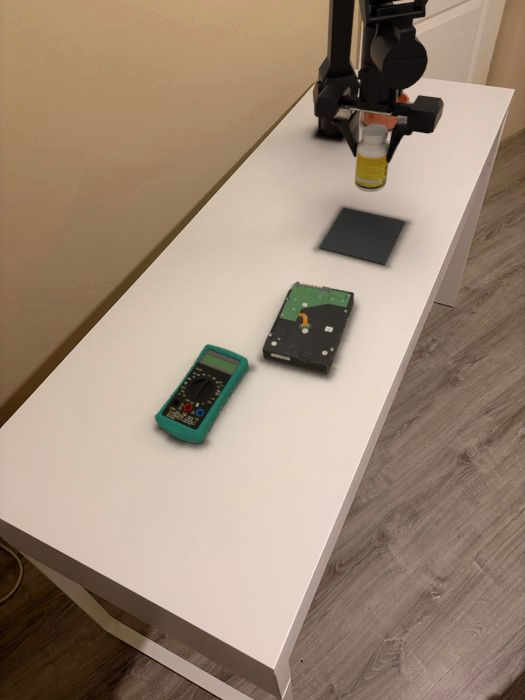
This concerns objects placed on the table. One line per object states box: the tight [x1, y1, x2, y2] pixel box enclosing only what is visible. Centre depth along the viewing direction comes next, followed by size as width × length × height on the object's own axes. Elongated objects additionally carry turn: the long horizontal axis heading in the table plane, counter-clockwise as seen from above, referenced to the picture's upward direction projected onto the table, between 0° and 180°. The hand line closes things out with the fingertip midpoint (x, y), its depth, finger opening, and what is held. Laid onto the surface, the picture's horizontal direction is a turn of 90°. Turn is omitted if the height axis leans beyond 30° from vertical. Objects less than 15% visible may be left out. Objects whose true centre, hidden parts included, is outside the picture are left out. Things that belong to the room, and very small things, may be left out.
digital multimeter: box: [154, 343, 250, 444], centre depth 70 cm, size 7×15×3 cm, turn 152°
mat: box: [318, 206, 406, 266], centre depth 89 cm, size 12×12×1 cm
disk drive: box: [261, 281, 355, 375], centre depth 76 cm, size 10×3×15 cm
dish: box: [361, 92, 411, 131], centre depth 110 cm, size 10×10×4 cm
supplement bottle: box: [354, 124, 390, 193], centre depth 82 cm, size 5×5×10 cm
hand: (372, 158), depth 82 cm, fingers closed on supplement bottle, 5 cm apart
